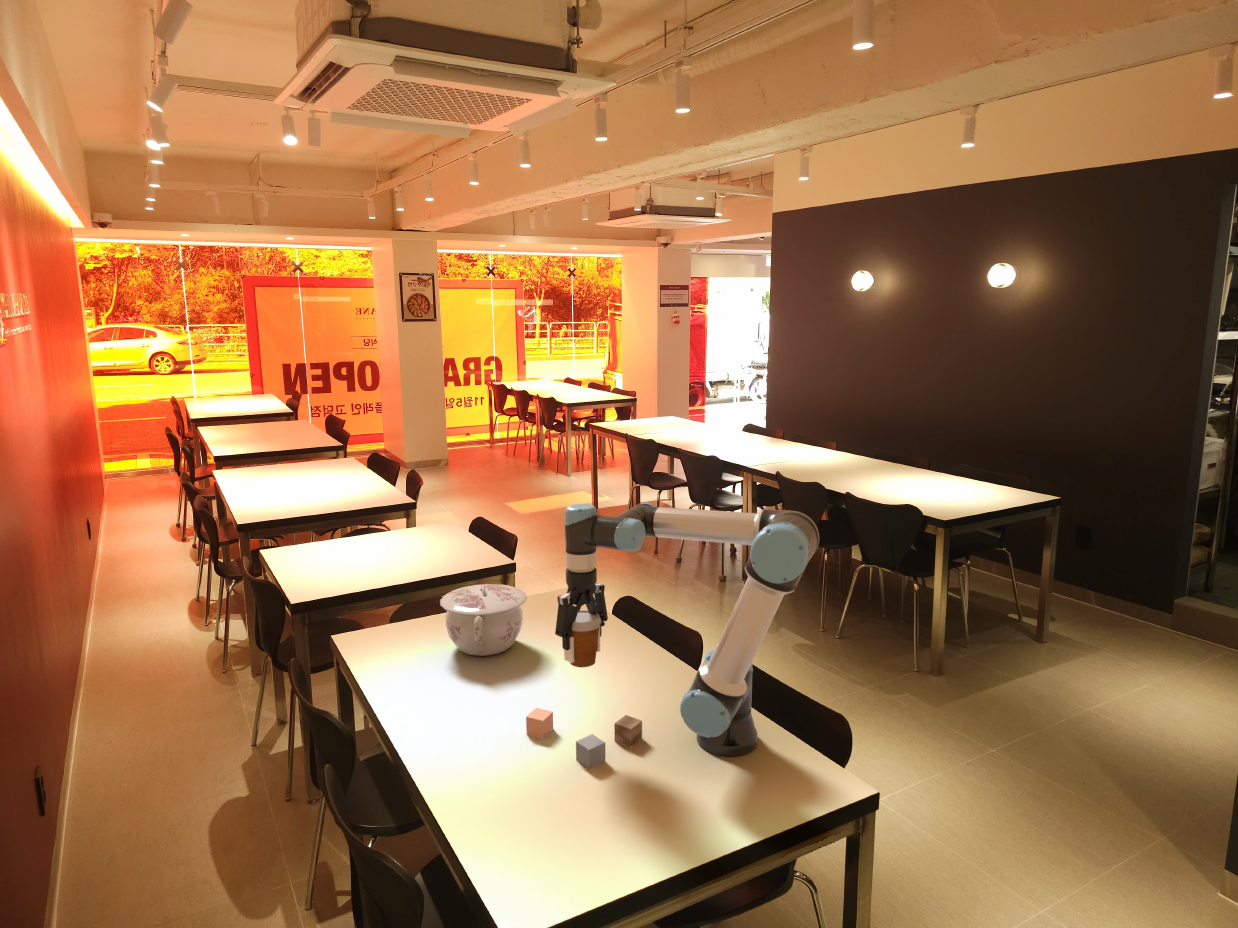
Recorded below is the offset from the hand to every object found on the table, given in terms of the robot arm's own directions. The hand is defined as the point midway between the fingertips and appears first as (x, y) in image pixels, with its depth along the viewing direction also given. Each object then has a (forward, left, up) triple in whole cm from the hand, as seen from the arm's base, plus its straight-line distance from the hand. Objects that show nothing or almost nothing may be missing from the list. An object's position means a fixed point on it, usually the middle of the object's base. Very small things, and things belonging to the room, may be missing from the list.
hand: (582, 655), depth 192 cm
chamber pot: (+63, -15, -22) cm, 69 cm away
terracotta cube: (+10, +6, -22) cm, 25 cm away
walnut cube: (-9, -7, -22) cm, 25 cm away
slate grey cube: (-9, +6, -22) cm, 25 cm away
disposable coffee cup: (0, 0, -2) cm, 2 cm away
